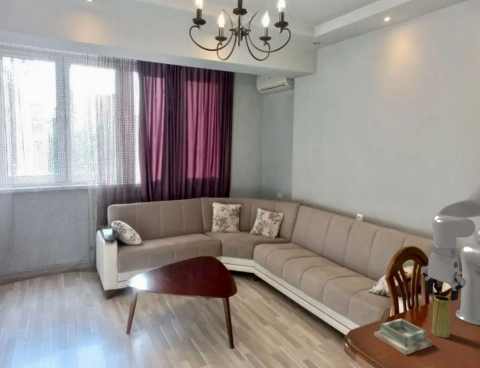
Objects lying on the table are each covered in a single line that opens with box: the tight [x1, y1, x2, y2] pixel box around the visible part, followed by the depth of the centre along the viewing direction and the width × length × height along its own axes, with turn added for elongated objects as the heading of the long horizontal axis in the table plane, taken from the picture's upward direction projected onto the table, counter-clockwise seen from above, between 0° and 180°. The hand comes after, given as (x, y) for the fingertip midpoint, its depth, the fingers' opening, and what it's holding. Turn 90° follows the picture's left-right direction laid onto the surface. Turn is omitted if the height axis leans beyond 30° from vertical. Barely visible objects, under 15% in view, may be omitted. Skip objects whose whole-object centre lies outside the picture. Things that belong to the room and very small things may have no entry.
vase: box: [431, 294, 451, 339], centre depth 132 cm, size 6×6×14 cm
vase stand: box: [373, 318, 434, 356], centre depth 128 cm, size 14×14×5 cm
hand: (441, 295), depth 131 cm, fingers open, 9 cm apart
